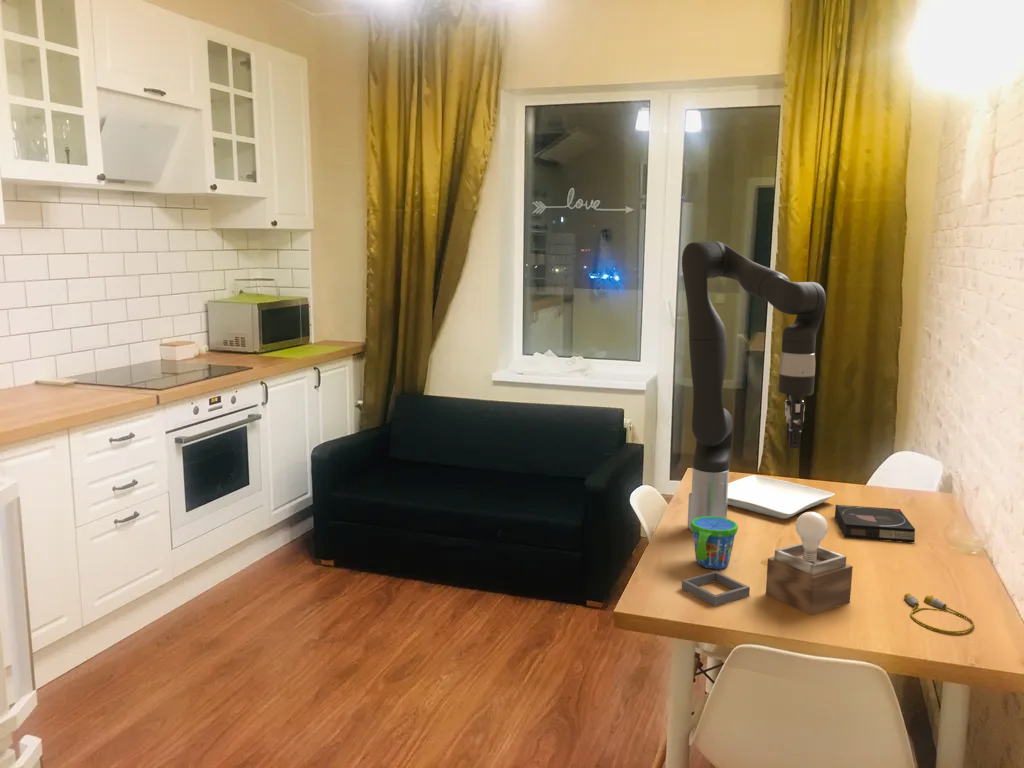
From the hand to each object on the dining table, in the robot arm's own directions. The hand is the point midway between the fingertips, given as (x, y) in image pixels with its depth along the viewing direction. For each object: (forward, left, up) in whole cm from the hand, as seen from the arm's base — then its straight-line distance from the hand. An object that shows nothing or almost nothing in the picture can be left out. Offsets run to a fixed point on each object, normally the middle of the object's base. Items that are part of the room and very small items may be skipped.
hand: (792, 443), depth 182 cm
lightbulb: (+13, -8, -22) cm, 27 cm away
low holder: (+1, -23, -30) cm, 38 cm away
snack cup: (-11, -12, -30) cm, 34 cm away
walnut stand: (+13, -8, -30) cm, 34 cm away
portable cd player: (-7, +42, -31) cm, 52 cm away
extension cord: (+32, +8, -31) cm, 45 cm away
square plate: (-37, +36, -31) cm, 60 cm away
